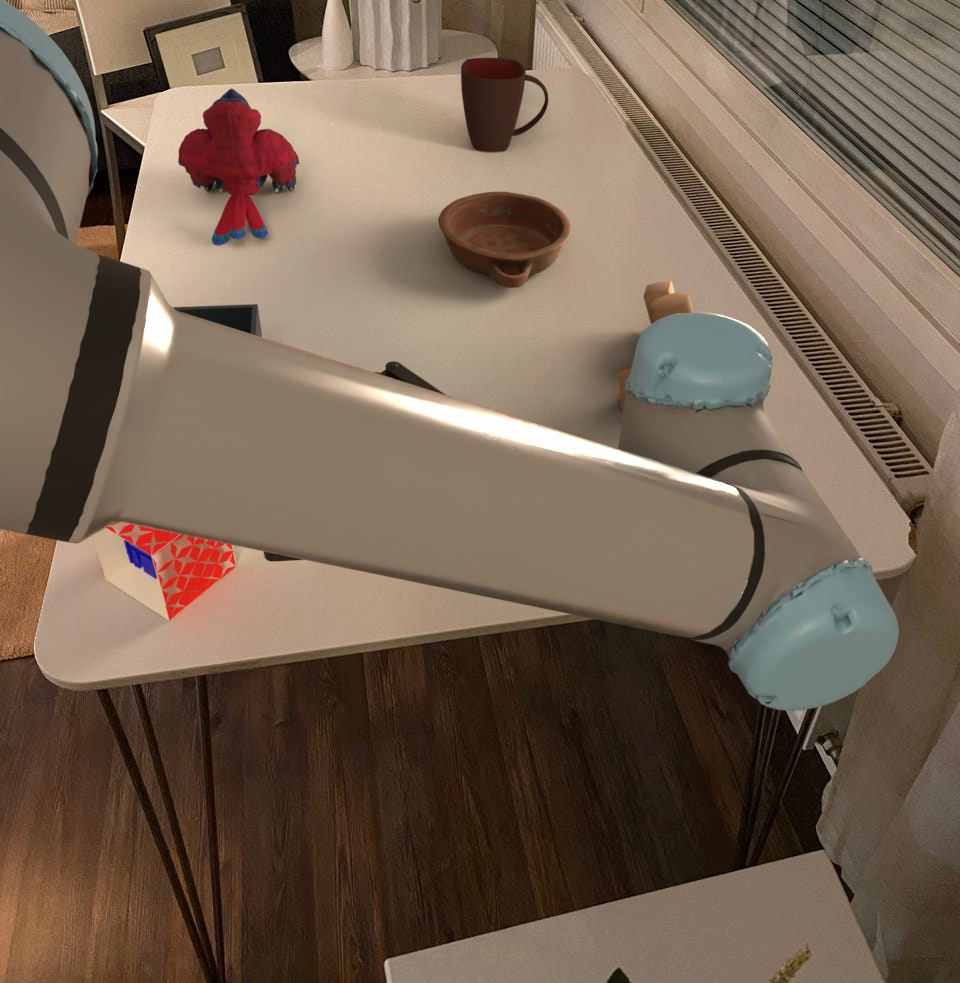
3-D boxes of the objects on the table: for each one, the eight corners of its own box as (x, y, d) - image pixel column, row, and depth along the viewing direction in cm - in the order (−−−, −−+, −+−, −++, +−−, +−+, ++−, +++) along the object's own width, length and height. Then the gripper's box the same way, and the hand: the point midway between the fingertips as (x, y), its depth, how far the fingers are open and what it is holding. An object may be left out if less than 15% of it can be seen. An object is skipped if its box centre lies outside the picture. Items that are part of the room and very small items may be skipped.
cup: (458, 132, 160) (460, 56, 152) (541, 134, 161) (547, 58, 152) (460, 157, 152) (462, 79, 144) (547, 159, 153) (554, 81, 145)
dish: (439, 297, 121) (440, 262, 118) (436, 216, 137) (436, 182, 134) (577, 298, 122) (582, 263, 119) (557, 217, 138) (561, 184, 135)
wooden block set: (647, 343, 119) (626, 268, 114) (717, 330, 116) (699, 252, 111) (625, 424, 106) (600, 343, 101) (704, 412, 102) (682, 328, 97)
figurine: (301, 104, 140) (288, 82, 123) (307, 246, 145) (296, 244, 127) (191, 103, 139) (162, 81, 121) (201, 247, 143) (175, 245, 126)
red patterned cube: (236, 566, 86) (224, 501, 81) (169, 621, 81) (151, 556, 76) (173, 528, 89) (157, 463, 84) (105, 579, 84) (83, 514, 79)
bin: (141, 420, 101) (129, 372, 97) (154, 353, 110) (144, 308, 106) (260, 413, 102) (253, 367, 98) (263, 349, 111) (257, 303, 107)
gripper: (450, 676, 59) (150, 579, 64) (565, 436, 76) (323, 374, 81) (452, 593, 54) (126, 495, 59) (575, 357, 71) (316, 296, 76)
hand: (240, 425), depth 70 cm, fingers open, 13 cm apart
